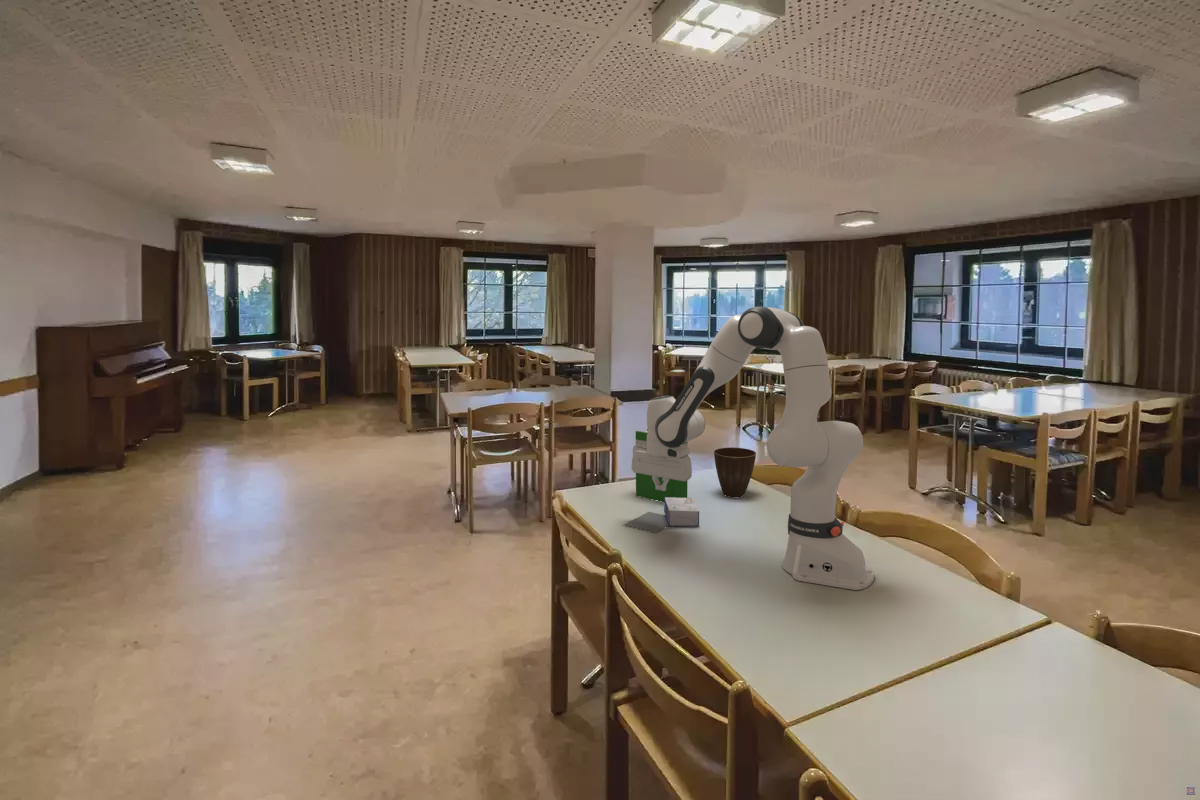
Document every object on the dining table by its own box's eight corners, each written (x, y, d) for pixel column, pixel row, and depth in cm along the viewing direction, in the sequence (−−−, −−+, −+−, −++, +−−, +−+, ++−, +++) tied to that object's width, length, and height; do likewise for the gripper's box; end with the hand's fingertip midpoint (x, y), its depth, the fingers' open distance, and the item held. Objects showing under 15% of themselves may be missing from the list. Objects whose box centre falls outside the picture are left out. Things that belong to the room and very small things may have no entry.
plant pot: (760, 492, 236) (761, 450, 233) (746, 503, 223) (747, 458, 221) (722, 486, 243) (722, 445, 241) (706, 497, 231) (707, 453, 229)
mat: (680, 519, 208) (680, 518, 207) (656, 533, 196) (656, 532, 196) (648, 512, 215) (648, 511, 215) (623, 525, 203) (623, 524, 203)
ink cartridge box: (699, 527, 201) (692, 509, 215) (700, 511, 200) (693, 494, 214) (667, 527, 201) (662, 508, 215) (668, 510, 200) (663, 493, 214)
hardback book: (635, 495, 234) (635, 431, 230) (648, 491, 239) (648, 428, 236) (674, 505, 222) (674, 437, 218) (687, 500, 227) (687, 434, 224)
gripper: (627, 445, 203) (627, 487, 205) (684, 453, 191) (684, 498, 193) (638, 441, 208) (638, 482, 210) (694, 449, 196) (694, 493, 198)
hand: (660, 490), depth 202 cm, fingers closed
